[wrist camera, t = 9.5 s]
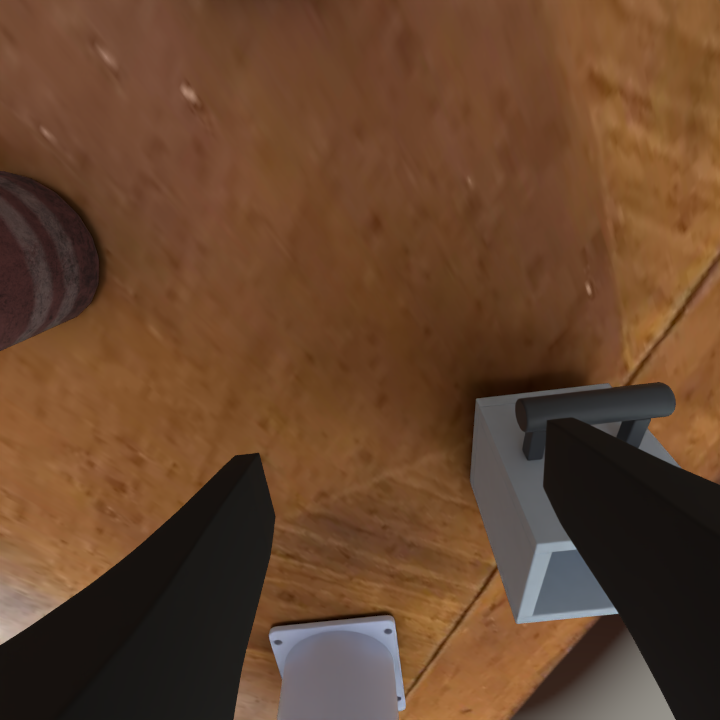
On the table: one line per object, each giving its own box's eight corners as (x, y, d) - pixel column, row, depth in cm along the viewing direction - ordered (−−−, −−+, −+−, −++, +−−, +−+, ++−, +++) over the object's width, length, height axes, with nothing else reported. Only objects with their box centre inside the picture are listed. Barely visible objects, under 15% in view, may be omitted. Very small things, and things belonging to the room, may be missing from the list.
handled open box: (666, 609, 16) (773, 466, 11) (515, 624, 16) (551, 490, 11) (581, 468, 22) (625, 330, 17) (469, 480, 22) (479, 347, 17)
